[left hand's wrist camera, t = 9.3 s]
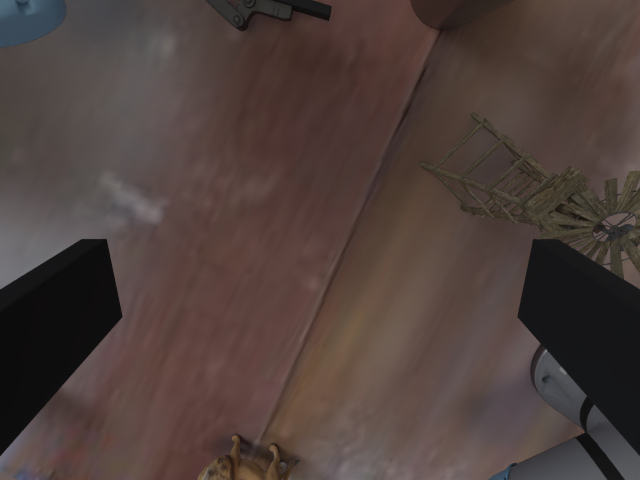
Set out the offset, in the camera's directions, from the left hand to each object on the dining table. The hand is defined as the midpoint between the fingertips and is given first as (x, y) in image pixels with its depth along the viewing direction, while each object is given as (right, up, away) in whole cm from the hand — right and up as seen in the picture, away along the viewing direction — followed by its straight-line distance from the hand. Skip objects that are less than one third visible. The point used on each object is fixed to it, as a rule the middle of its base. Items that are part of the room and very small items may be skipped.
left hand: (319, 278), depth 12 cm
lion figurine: (-11, -32, +50) cm, 61 cm away
